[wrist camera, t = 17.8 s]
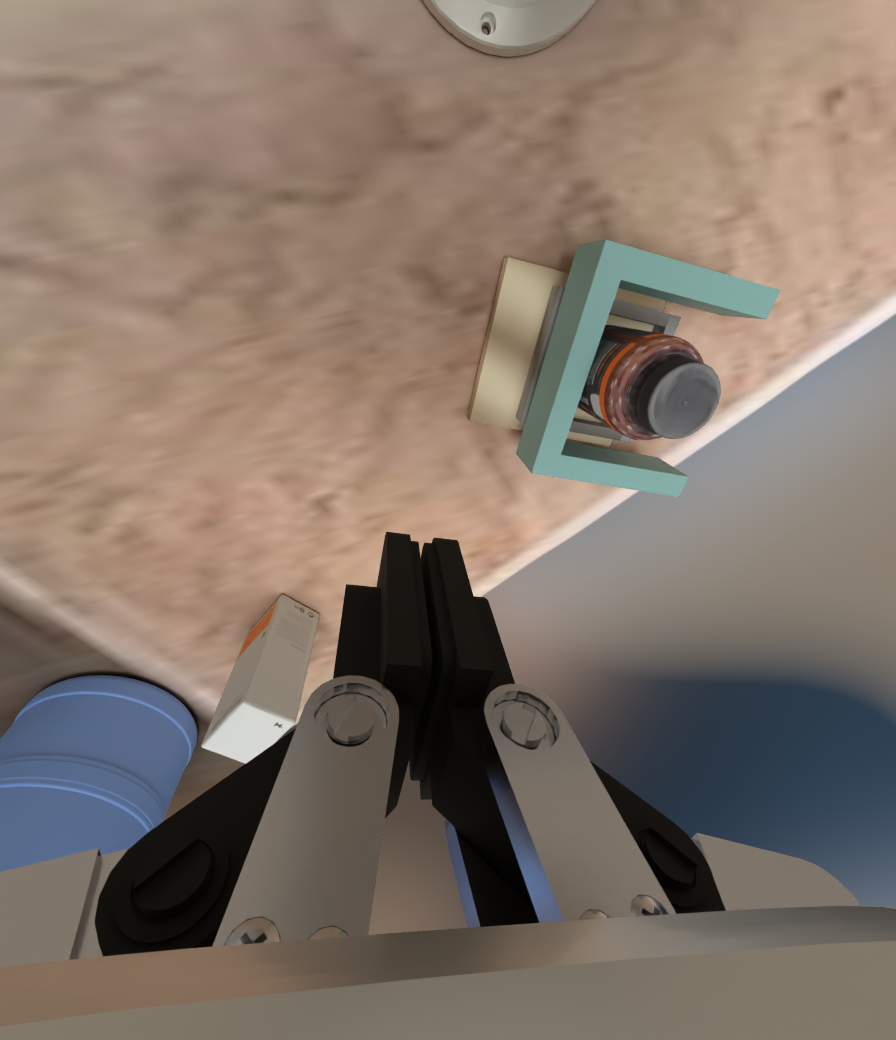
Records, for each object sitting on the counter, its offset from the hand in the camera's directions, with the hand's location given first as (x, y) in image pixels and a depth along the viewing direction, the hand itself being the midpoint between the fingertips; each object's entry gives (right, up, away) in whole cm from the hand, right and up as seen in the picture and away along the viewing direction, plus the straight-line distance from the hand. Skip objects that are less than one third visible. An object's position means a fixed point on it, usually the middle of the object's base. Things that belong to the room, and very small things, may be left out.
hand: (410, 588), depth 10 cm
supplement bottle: (+12, +13, +22) cm, 28 cm away
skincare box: (-15, -8, +31) cm, 36 cm away
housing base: (+9, +14, +23) cm, 28 cm away
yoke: (+13, +12, +21) cm, 27 cm away
